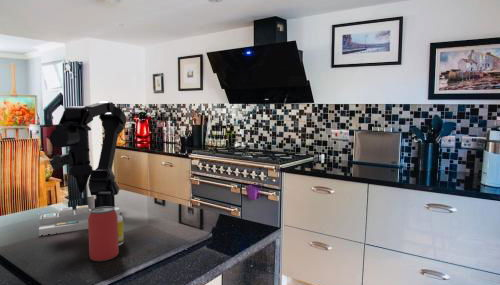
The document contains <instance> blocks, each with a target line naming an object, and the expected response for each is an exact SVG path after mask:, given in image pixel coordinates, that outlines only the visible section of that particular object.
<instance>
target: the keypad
mask: <svg viewBox="0 0 500 285" xmlns="http://www.w3.org/2000/svg"><path fill="white" fill-rule="evenodd" d="M90 210H91V208H88V211H89V213H83V214H77V213H76V210H72V212H73V215H67V216H60V212H53V213H51V214H54V213H56V217H51V218H44V219H43V216H44V215H46V214H47V213H45V214H40V217H39V228H38V236H39V237H42V236H41V235H43V236H48V234H50V235H55V234H56V233H57V234H62V233H69V232H70V233H71V232H77V231H82V230H88V218H89V215H90Z"/></svg>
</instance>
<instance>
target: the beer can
mask: <svg viewBox="0 0 500 285" xmlns="http://www.w3.org/2000/svg"><path fill="white" fill-rule="evenodd" d="M90 209H91V208H90ZM87 230H88V251H89V259H90V260H91V261H94V262H106V261H109V260H113V259H114V258H116V257H118V256H119V255H118V254H119V253H120V251H119V246H118V219H117V214H116V212H115V208H114V207H110V206H105V207H97V208H94V207H93V208H92V209H91V210H90V215H89V218H88V229H87Z"/></svg>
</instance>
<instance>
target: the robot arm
mask: <svg viewBox="0 0 500 285" xmlns="http://www.w3.org/2000/svg"><path fill="white" fill-rule="evenodd" d="M98 116H99V117H98ZM95 117H98V118H99V120H100V121H101V122H102V123H101V126H102V127H103V130H104V135H103V136H104V137H103V140H102V145H101V150H100V155H99V160H98V165H97V167H96V168H95V169H93V166H92V165H91V160H90V139H89V138H90V137H89V131H92V128H91V127H90V126H89V124H90V123H91V122H92V121H94V118H95ZM126 124H127V116H126V114H125V112H124V111H123V110H122V109H121V108H119V107H117V106H116V105H115V104H114V102H113V101H98V102H96V103H92V104H88V105H85V106H83V105H82V106H79V105H78V106H75V105H74V106H69V105H68V106H66V107H65V108H64V110H63V112H62V115H61V118H60V120H59V123H58V124H55V129H53V130H52V131H51V133H50V135H49V142H50V144H51V145H52V146H53V147H54V148H56V149H57V148H58V149H61V148H68V147H69V148H68V149H67V153H63V154H61V155H60V154H57V155H53V157H52V158H50V159H49V160H48V162H49V164H50V167H51V168H52V170H53V171H56V170H58V169H59V168H61V167H64V166H67V165H68V168H69V170H68V171H69V176H72V177H74V179H75V181H76V185H77V189H78V192H79V193H80V194H83V193H84V191H85V189H86V186H87V185H88V189H89V193H90V196H91V197H92V196H94V197H95V198H94V199H93V209H94V208H97V207H105V206H110V207H116V202H115V196H117V195H119V191H120V187H119V185H118V184H117V182H116V181H115V179H116V176H115V174H114V172H113V166H114V165H113V164H114V160H115V154H116V149H117V144H118V138H119V135H120V134H121V133H122V132H123V130H124V129H125V126H126ZM87 183H88V184H87Z"/></svg>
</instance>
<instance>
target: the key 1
mask: <svg viewBox="0 0 500 285" xmlns="http://www.w3.org/2000/svg"><path fill="white" fill-rule="evenodd" d="M53 213H54V214H52V213H45V214H46V215H44V214H43V215H44V216H43V219H44V218H51V217H56V213H57V212H53Z"/></svg>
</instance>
